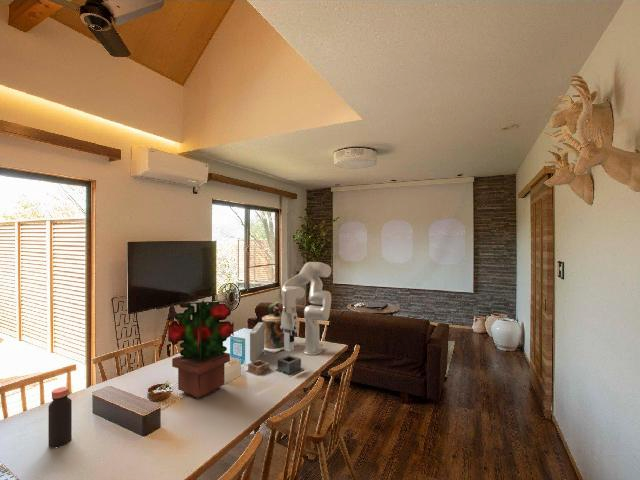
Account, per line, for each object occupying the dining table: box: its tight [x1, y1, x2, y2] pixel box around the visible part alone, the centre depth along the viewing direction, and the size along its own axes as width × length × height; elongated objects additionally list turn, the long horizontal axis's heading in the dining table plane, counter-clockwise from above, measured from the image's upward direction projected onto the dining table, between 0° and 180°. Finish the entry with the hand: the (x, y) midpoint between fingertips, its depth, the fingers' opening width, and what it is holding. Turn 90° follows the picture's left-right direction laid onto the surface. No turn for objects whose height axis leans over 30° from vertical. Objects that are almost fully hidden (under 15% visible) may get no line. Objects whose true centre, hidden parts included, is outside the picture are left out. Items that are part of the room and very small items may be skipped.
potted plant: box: [167, 298, 235, 400], centre depth 161 cm, size 22×22×45 cm
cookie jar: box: [261, 300, 299, 354], centre depth 230 cm, size 25×25×32 cm
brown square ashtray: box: [245, 359, 272, 377], centre depth 184 cm, size 11×11×5 cm
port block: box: [274, 354, 305, 378], centre depth 185 cm, size 12×12×7 cm
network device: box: [249, 321, 267, 362], centre depth 207 cm, size 26×9×20 cm, turn 179°
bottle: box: [47, 386, 73, 449], centre depth 120 cm, size 7×7×20 cm
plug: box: [283, 329, 295, 352], centre depth 185 cm, size 4×4×12 cm
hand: (289, 340), depth 185 cm, fingers closed on plug, 4 cm apart
